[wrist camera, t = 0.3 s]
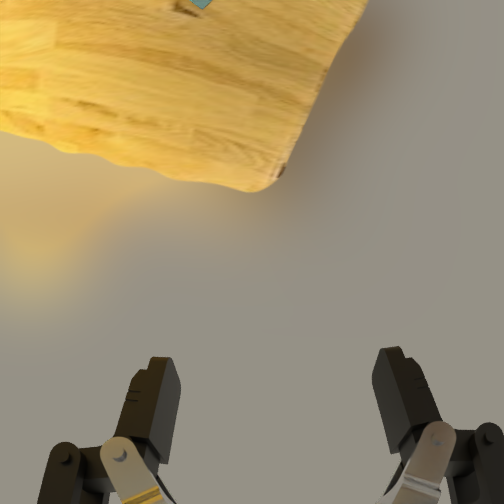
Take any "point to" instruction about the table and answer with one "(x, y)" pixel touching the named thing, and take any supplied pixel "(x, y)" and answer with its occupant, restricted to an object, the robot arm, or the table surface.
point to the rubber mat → (201, 3)
